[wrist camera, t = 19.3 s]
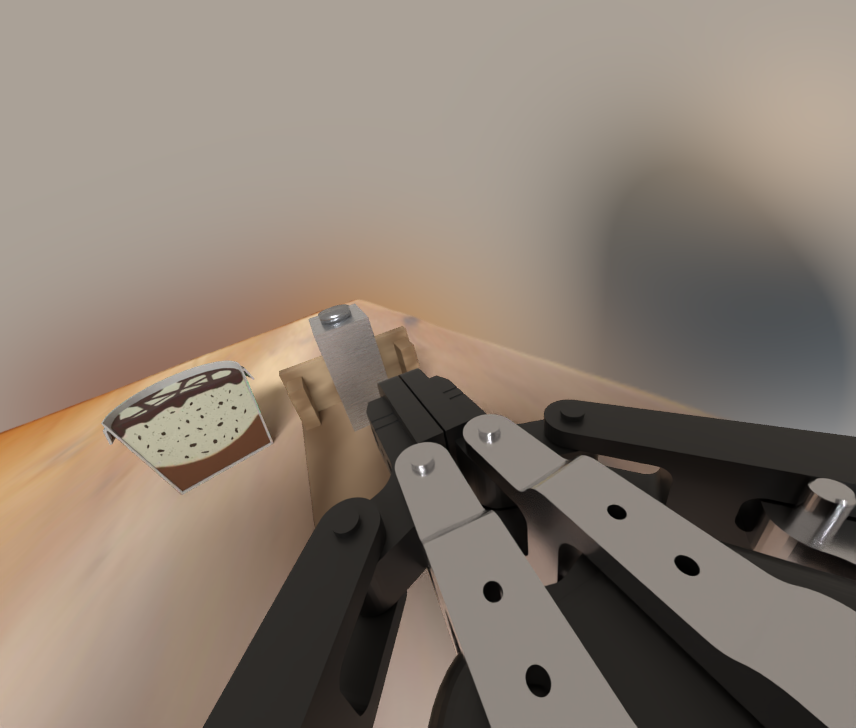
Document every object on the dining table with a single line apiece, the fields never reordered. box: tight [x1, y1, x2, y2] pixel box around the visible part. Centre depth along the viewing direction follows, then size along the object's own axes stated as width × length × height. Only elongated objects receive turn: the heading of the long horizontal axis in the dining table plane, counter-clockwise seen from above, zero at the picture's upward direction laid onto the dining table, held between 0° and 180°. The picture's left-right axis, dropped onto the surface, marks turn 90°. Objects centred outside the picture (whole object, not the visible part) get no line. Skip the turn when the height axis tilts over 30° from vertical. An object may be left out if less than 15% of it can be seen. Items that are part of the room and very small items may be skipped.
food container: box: [101, 361, 273, 495], centre depth 34 cm, size 12×6×10 cm, turn 128°
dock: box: [279, 326, 420, 528], centre depth 31 cm, size 15×19×7 cm
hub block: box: [309, 304, 388, 432], centre depth 34 cm, size 5×6×12 cm
